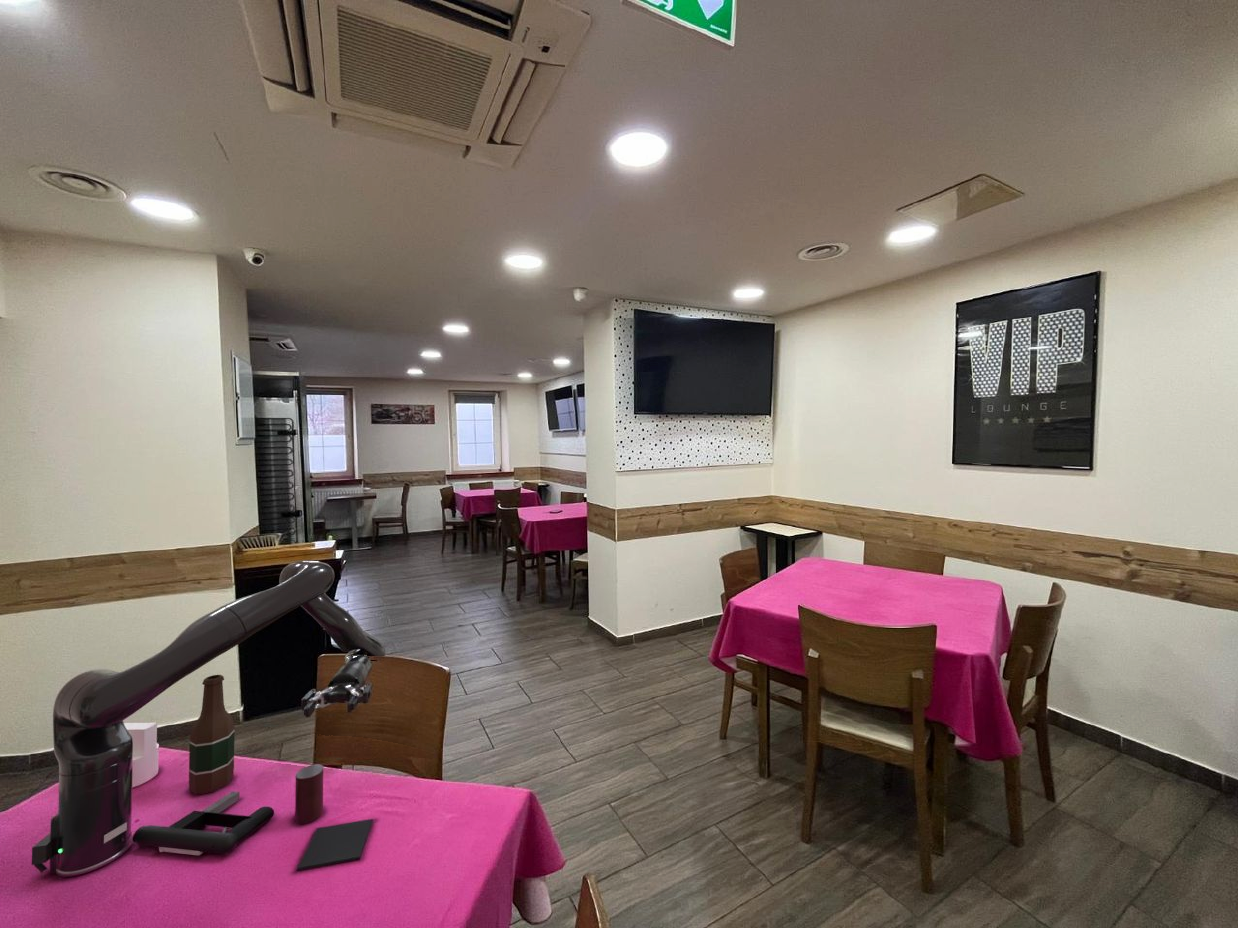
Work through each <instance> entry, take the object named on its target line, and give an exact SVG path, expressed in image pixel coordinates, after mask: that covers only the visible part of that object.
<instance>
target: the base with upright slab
mask: <svg viewBox="0 0 1238 928" xmlns="http://www.w3.org/2000/svg"><path fill="white" fill-rule="evenodd" d="M124 725H125V727H126V729H127V730H128V732H129V733H130V734H131V736H132V738H133V766H132V767H133V770H132V789H133V788H135V787H138V786H141V785H143V784H145V783H147V782H148V781H150V780H152V779H153V778H154V777H156V776H157V775H158V773H159V761H160V759H159V757H160V754H159V753H160V744H159V742H157V741H158V722H124Z"/></svg>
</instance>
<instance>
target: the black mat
mask: <svg viewBox="0 0 1238 928" xmlns="http://www.w3.org/2000/svg"><path fill="white" fill-rule="evenodd" d="M373 823H374V819H373V818H370V819H365V820H364V819H363V820H359V821H352V822H347V823H346V822H345V823H340V824H333V825H328V826H322V827H317V828H316V830H315V831H314V834H313V836H312V838H311V840H310V841H309V844H308V845H307V848H306V849H305V851H304V854H303V855H302V858H301V860H300V862H299V863H298V866H297V868H296V871H303V870H309V869H314V868H320V867H324V866H325V867H327V866H331V865H336V864H343V863H347V862H353V861H358V860H360V859H361V858H362V857H361V856H362V853H363V851H364V848H365V845H366V843H367V839H368V837H369V834H370V830H371V828H372V825H373Z"/></svg>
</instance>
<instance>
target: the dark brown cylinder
mask: <svg viewBox="0 0 1238 928" xmlns="http://www.w3.org/2000/svg"><path fill="white" fill-rule="evenodd" d="M294 788H295V793H294V794H295V795H294V796H295V799H294V800H295V801H294V822H295V823H296V824H297V825H307V824H310V823H313V822H315V821H317V820H318V819H319V818H320V817H321V816H322V815H323V814H324V766H323V765H322V764H318V763H317V764H310V765H306V766H304V767H302V768H301V769H299V770H298V771H297V772H296V773H295V787H294Z"/></svg>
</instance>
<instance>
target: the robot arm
mask: <svg viewBox="0 0 1238 928" xmlns="http://www.w3.org/2000/svg"><path fill="white" fill-rule="evenodd" d="M278 580H279V581H278V582H279V584H278V585H276V586H274V587H271V588H269V589H266V590H265V589H264V590H263V591H259V592H256V593H253V594H250V595H249V594H248V595H247V596H243V597H240V598H237V599H235V600H233V601H230V602H228V603H226V604H223V605H221V606H219V607H217V608H216V609H214V610H212V611H210V612H208V613H206V614H205V615H202V616H201V617H198V619H196V620H194V621H193V622H192V623H190V624H189V625H188V626H187V627H186V628H185V629H184V630H182V631H181V633H179V635H178V636H177V637H176V638H175V639H174V640H173V641H172V642H171V643H170V644H168V645H167V646H166V647H165V648H164V649H162V650H161V651H159V652H158V653H155V654H154V655H153V656H150V657H149V658H147V659H145V660H143V661H141V662H139V663H138V664H135V665H133V666H131V667H129V668H127V669H125V670H122V671H115V670H111V669H105V668H104V669H103V668H98V669H97V668H96V669H91V670H87V671H84V672H82V673H79V674H78V675H75V676H74V677H73V678H71V679H70V680H68V681H67V682H66V683H65V684H64V685H63V686H62V687H61V689H60V690H59V692H58V693H57V695H56V697H55V700H54V703H53V709H52V741H53V753H54V756H55V759H56V760H57V763H58V803H57V804H58V807H57V811H58V812H57V813H56V814H55V815H54V816H52V817H51V819H50V832H49V833H48V834H47V835H46V836H44V837H43V838H41V840H39V841H38V842H37V843H36V844H35V845H33V846H32V847H31V865H32V866H34V867H35V868H36V869H37V870H38V871H39V872H40V873H44V872H46V871H47V870H48V867H47V866H46V865H45V863H47V862H48V861H49V875H53V874H56V875H57V876H59V877H64V878H66V877H68V878H69V877H75V876H80V875H84V874H87V873H90V872H92V871H93V872H94V871H95V870H98V869H100V868H102V867H104V866H106V865H108V864H110V863H112V862H113V861H115V860H117V859H118V858H119V857H121V856H122V855H123V854H125V853H126V852H127V851H128V850H129V848H130V847H131V846H132V844H133V835H132V822H133V821H132V820H133V819H132V817H133V788H132V770H133V767H132V766H133V738H132V736H131V734H130V733H129V732H128V730H127V729H126V727H125V725H124V723H125V722H124V721H125V720H126V719H128V718H129V717H131V716H132V715H134V714H135V713H136V712H138V711H140V710H141V709H142V708H143V707H144V706H146V705H148V704H149V703H150V702H151V701H153V700H154V699H155V698H157V697H159V696H160V695H161V694H162V693H164V692H166V691H167V690H168V689H170V688H171V687H172V686H173V685H174V684H177V683H178V682H179V681H181V680H183V679H184V678H185V677H187V676H189V675H190V674H193V673H194V672H195V671H197V670H199V669H200V668H202V667H203V666H205V665H207V664H208V663H209V662H212V661H213V660H214V659H217V658H218V657H220V656H221V655H224V654H225V653H227V652H228V651H230V650H232V649H233V648H235V647H236V646H238V645H239V644H241V643H243V642H245V641H246V640H247V639H249V638H251V637H252V636H253V635H255V634H256V633H258V632H259V631H261V630H263V629H264V628H266V627H267V626H269V625H271V624H272V623H274V622H275V621H277V620H278V619H280V618H282V617H283V616H285V615H287V614H289V613H290V612H292V611H293V610H295V609H297V608H299V607H301V608H302V609H304V610H305V611H306V613H307V614H309V615H310V616H311V617H312V619H314V620H315V621H316V622H317V623H318V624H319V625H320V626H321V628H323V630H324V631H325V632H326V633H327V634H328V636H329V637H330V638H331V640H332V641H333V642H334V644H335V645H336V646H337V647H338V649H339V650H341V651H342V652H348V653H347V654H345V655H344V659H343V660H344V664H343V666H341V667H340V668H339V670H337V672H336V673H335V674H334V676H333V677H332V678H331V680H330V681H329V683H328V684H327V687H326V688H324V689H323V690H322V691H317V689H316V688H312V689H310V690H309V691H308V692H307V693H306V694H305V695H304V696H303V697H302V698H301V699H300V700H301V701H300V702H301V705H300V706H301V707H300V709H301V711H302V712H303V716H305V718H310V717H311V716H312V715H313V713H314V712H315V711H316V710H317V709H319V708H320V709H324V708H327V707H328V706H330V705H334V704H337V703H338V704H347V710H346V711H347V713H348V714H350V713H352V712H353V711H354V710H356V708H357V707H358V706H359V705H360V703H362V704H368V703H369V701H370V699H371V697H372V695H373V683H372V682H368V683H367V684H366V682H367V679H368V677H369V675H370V674H371V671H372V670H373V669H372V668H373V667H372V662H371V661H377V660H370V659H369V657H366V656H364V655H367V656H385V657H386V654H387V653H386V648H385V646H384V645H383V644H382V642H380V640H378V639H376V638H375V637H373V636H372V635H370V634H369V633H367V632H366V631H365V630H364V629H362V627H361V626H360V624H359V623H358V621H357V620H356V619H355V618H354V617H353V616H352V615H351V614H350V613H349V612H348V611H347V610H346V609H345V608H343V607H341V606H340V605H339V604H338V603H337V602H335V601H334V600H332V599H331V598H330V597H329V596H328V594H326V593H327V592H328V591H329V590H330V588H331V587H332V585H333V583H334V581H335V570H334V569H333V568H332V566H330V564H328V563H326V562H322V561H318V560H317V561H314V560H313V561H307V560H301V561H300V560H299V561H294V562H291V563H289V564H288V565H286V566H285V567H284V568H283V569H282V571H281V572H280V575H279V579H278ZM348 655H351V656H348ZM352 655H357V656H352ZM365 684H366V685H365ZM316 702H317V703H316Z"/></svg>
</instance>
